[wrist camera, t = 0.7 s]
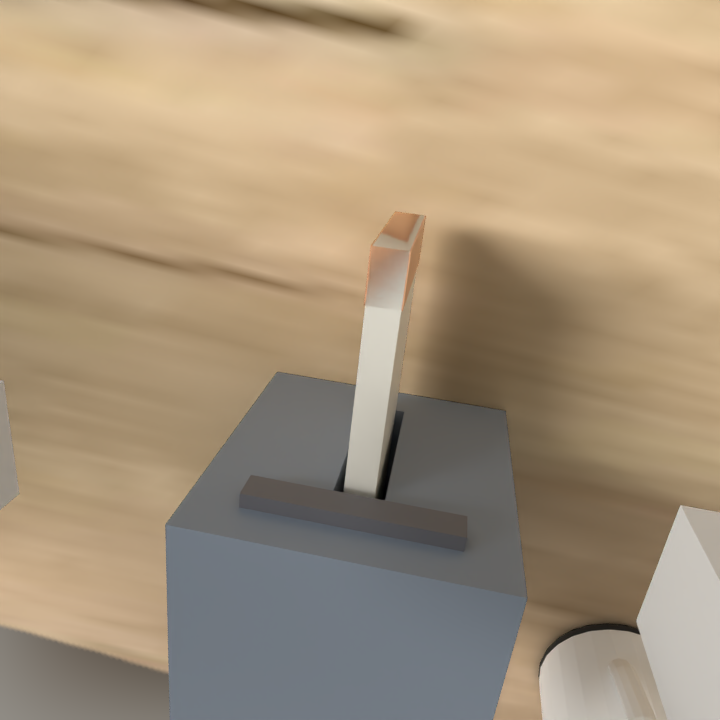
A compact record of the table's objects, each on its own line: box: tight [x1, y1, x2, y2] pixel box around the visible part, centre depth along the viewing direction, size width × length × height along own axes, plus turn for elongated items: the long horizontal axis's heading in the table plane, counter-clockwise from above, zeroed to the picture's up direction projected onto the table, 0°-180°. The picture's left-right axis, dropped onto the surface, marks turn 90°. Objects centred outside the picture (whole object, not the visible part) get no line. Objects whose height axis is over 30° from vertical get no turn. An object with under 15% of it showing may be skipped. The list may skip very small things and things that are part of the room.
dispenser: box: [165, 372, 527, 720], centre depth 28 cm, size 12×11×13 cm
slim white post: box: [343, 212, 426, 500], centre depth 26 cm, size 1×18×7 cm, turn 174°
